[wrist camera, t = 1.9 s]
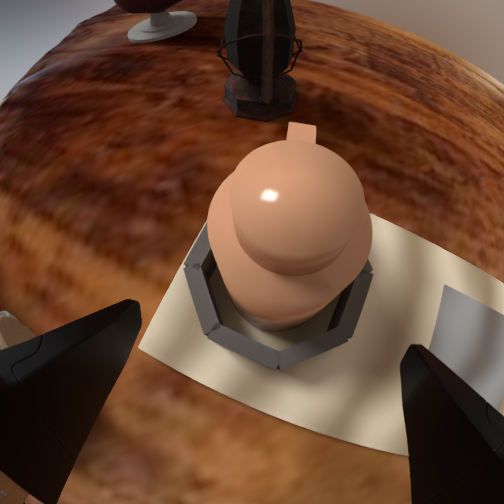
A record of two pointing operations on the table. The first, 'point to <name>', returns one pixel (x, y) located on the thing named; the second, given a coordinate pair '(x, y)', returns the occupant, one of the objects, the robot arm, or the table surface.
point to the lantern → (260, 58)
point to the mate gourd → (157, 20)
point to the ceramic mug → (13, 331)
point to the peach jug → (289, 230)
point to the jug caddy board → (343, 370)
